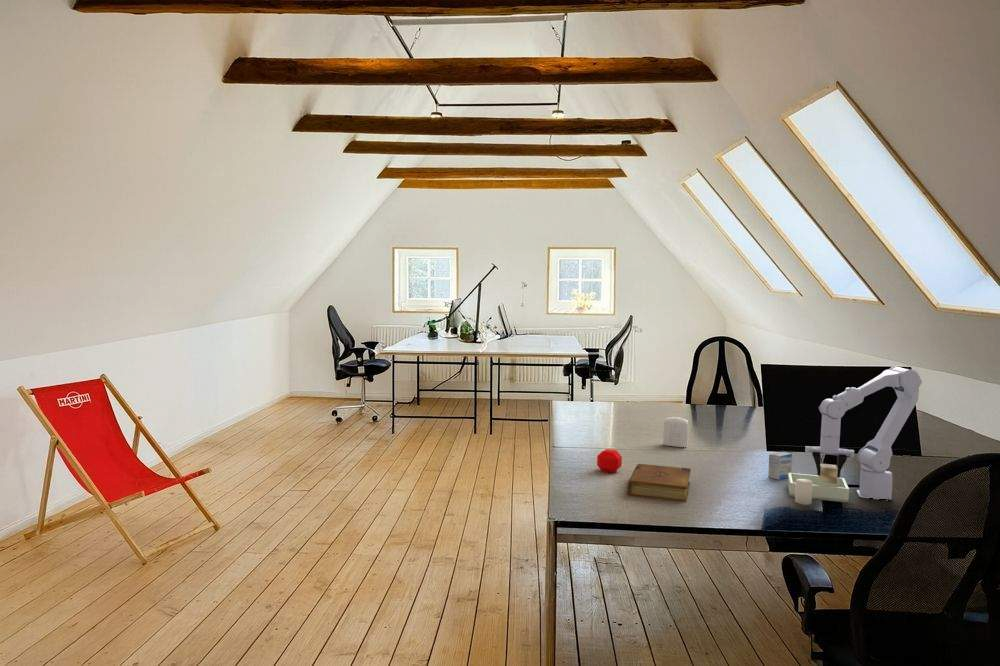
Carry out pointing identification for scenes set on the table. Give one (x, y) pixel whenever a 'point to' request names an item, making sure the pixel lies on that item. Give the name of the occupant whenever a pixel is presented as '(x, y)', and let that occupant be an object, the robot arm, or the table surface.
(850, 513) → the table surface
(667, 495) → the diary
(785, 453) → the medicine box
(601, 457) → the ball
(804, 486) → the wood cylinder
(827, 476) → the oak cube
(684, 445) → the white rounded block
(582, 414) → the table surface
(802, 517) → the table surface
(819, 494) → the tote
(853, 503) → the table surface
